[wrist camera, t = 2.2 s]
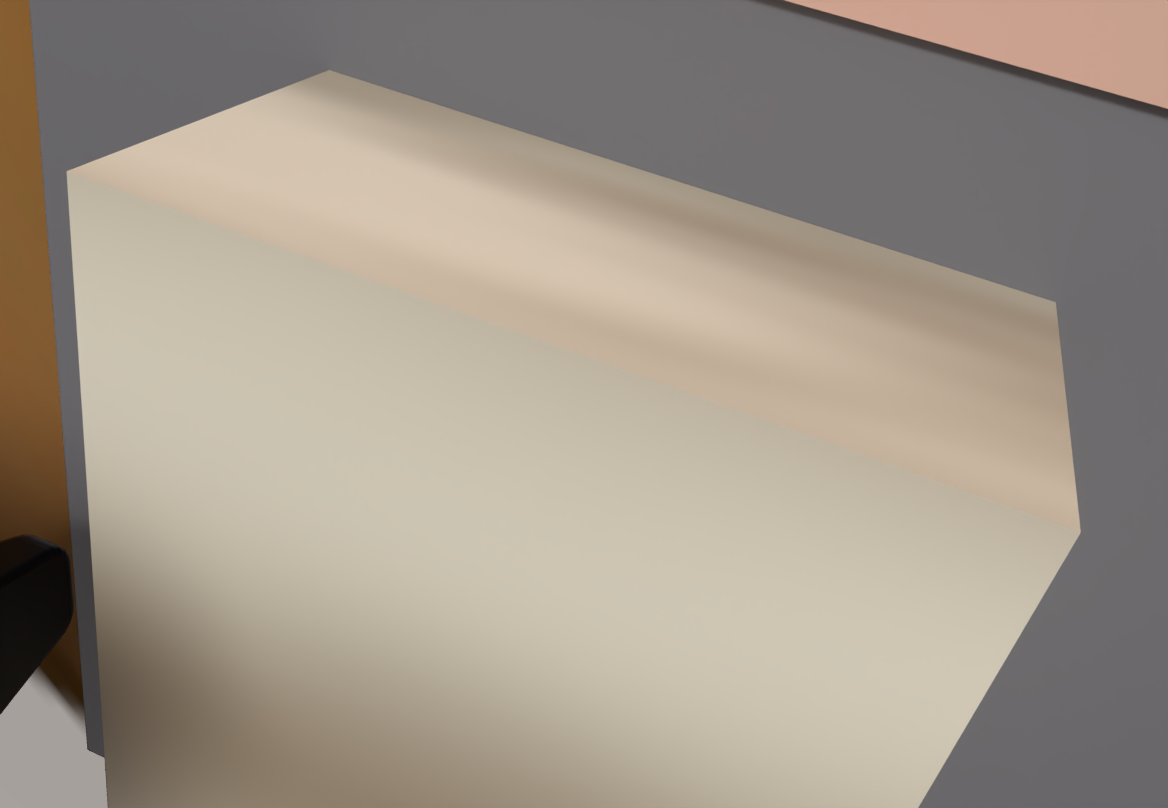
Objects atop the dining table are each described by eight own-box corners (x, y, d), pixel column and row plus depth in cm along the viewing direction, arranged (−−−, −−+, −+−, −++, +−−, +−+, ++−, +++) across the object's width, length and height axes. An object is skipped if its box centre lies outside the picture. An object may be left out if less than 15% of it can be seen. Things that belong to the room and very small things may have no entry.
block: (702, 1011, 13) (633, 1291, 11) (275, 814, 14) (122, 1026, 12) (1057, 302, 8) (1079, 532, 5) (329, 69, 9) (66, 170, 6)
